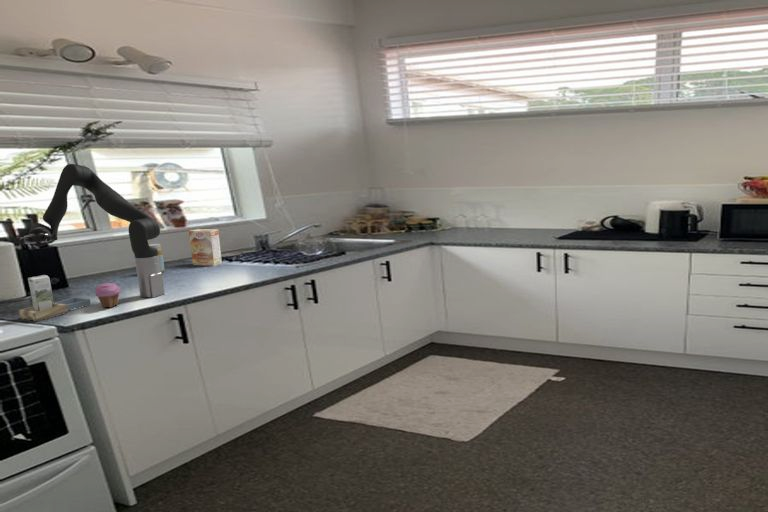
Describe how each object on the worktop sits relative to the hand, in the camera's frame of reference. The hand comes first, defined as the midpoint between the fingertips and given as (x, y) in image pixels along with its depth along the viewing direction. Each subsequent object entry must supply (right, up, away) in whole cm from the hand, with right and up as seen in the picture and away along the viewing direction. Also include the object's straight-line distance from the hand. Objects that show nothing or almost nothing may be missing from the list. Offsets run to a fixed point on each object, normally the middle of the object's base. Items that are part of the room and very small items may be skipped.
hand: (34, 240), depth 206 cm
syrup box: (+7, -29, -4) cm, 30 cm away
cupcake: (+27, -27, +4) cm, 39 cm away
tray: (+7, -29, -4) cm, 30 cm away
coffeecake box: (+39, -11, +86) cm, 95 cm away
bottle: (+18, -15, +69) cm, 73 cm away
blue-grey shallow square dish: (+10, -27, +7) cm, 30 cm away
